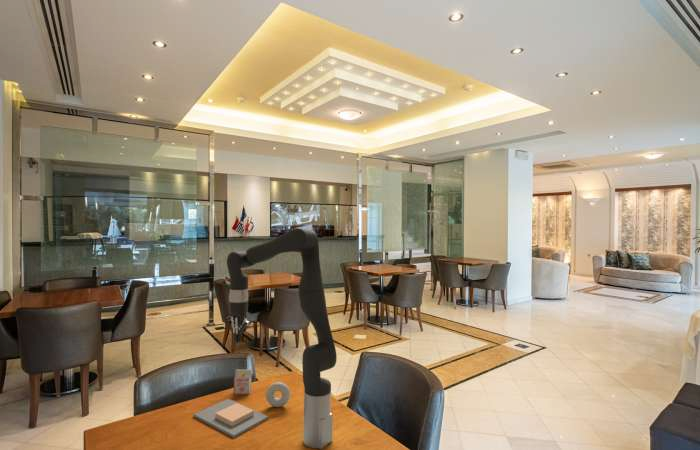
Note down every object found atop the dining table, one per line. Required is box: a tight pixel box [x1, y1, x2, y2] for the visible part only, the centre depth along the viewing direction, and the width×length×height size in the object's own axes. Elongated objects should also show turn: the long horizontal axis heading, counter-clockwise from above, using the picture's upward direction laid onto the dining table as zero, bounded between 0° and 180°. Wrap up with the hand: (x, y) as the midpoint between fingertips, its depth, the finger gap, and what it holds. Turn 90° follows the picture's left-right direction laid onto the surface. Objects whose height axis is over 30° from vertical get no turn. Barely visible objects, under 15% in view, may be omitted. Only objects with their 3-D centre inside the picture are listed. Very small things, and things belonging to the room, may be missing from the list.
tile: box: [215, 402, 255, 427], centre depth 139 cm, size 2×10×10 cm
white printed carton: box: [233, 369, 252, 395], centre depth 162 cm, size 4×7×10 cm, turn 92°
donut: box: [265, 381, 291, 408], centre depth 150 cm, size 10×4×10 cm, turn 91°
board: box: [193, 398, 269, 439], centre depth 140 cm, size 24×16×1 cm, turn 56°
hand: (237, 342), depth 149 cm, fingers closed
